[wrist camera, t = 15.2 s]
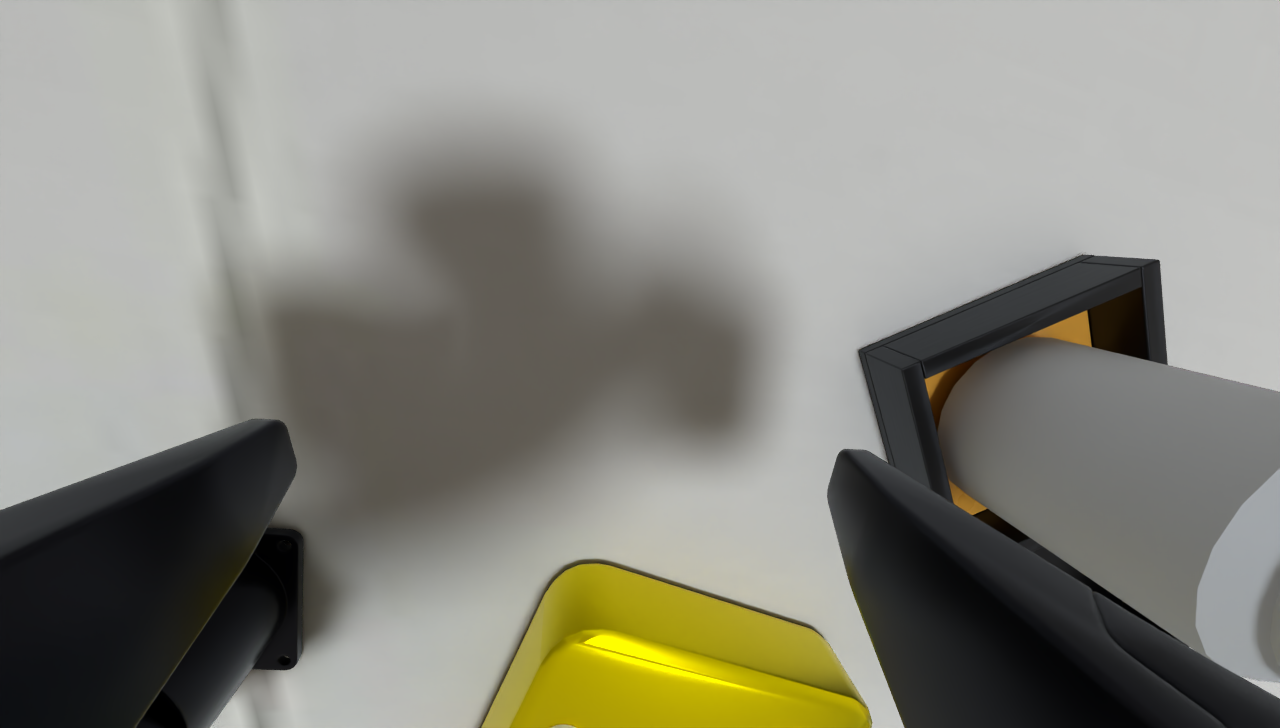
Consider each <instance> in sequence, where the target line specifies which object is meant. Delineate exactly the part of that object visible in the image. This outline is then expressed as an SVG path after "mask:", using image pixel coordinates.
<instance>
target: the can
mask: <svg viewBox="0 0 1280 728" xmlns="http://www.w3.org/2000/svg"><path fill="white" fill-rule="evenodd" d="M937 434H938V438H939V442H940V447H941V451H942V455H943V460H944V464H945V468H946V472H947V476H948V478H949V480H950V481H951V482H952V483H954V484H955V485H956V486H957V487H958V488H960V489H961V490H962V491H963V492H965V493H966V494H967V495H969V496H970V497H971V498H973V499H974V500H976V501H977V502H979V503H980V504H982V505H983V506H985V507H986V508H988V509H989V510H990V511H992V512H993V513H995V514H996V515H998V516H999V517H1001V518H1002V519H1004V520H1005V521H1007V522H1008V523H1009V524H1011V525H1012V526H1014V527H1015V528H1017V529H1018V530H1020V531H1021V532H1023V533H1024V534H1026V535H1027V536H1028V537H1030V538H1031V539H1033V540H1034V541H1036V542H1037V543H1039V544H1040V545H1042V546H1043V547H1044V548H1046V549H1047V550H1049V551H1050V552H1052V553H1053V554H1055V555H1056V556H1058V557H1059V558H1061V559H1062V560H1063V561H1065V562H1066V563H1068V564H1069V565H1071V566H1072V567H1074V568H1075V569H1077V570H1078V571H1080V572H1081V573H1082V574H1084V575H1085V576H1087V577H1088V578H1090V579H1091V580H1093V581H1094V582H1096V583H1097V584H1099V585H1100V586H1101V587H1103V588H1104V589H1106V590H1107V591H1109V592H1110V593H1112V594H1113V595H1115V596H1116V597H1118V598H1119V599H1120V600H1122V601H1123V602H1125V603H1126V604H1128V605H1129V606H1131V607H1132V608H1134V609H1135V610H1136V611H1138V612H1139V613H1141V614H1142V615H1144V616H1145V617H1147V618H1148V619H1150V620H1151V621H1153V622H1154V623H1155V624H1157V625H1158V626H1160V627H1161V628H1163V629H1164V630H1166V631H1167V632H1169V633H1170V634H1172V635H1173V636H1174V637H1176V638H1177V639H1179V640H1180V641H1182V642H1183V643H1185V644H1186V645H1188V646H1189V647H1191V648H1192V649H1193V650H1195V651H1196V652H1198V653H1200V654H1201V655H1203V656H1205V657H1207V658H1208V659H1210V660H1212V661H1214V662H1215V663H1217V664H1219V665H1221V666H1222V667H1224V668H1226V669H1228V670H1229V671H1231V672H1233V673H1235V674H1237V675H1238V676H1241V677H1245V678H1249V679H1253V680H1257V681H1267V682H1278V683H1280V392H1278V391H1274V390H1269V389H1265V388H1261V387H1257V386H1253V385H1248V384H1244V383H1240V382H1236V381H1232V380H1228V379H1223V378H1219V377H1215V376H1211V375H1207V374H1202V373H1198V372H1194V371H1190V370H1186V369H1181V368H1177V367H1173V366H1169V365H1165V364H1160V363H1156V362H1152V361H1148V360H1144V359H1140V358H1135V357H1131V356H1127V355H1123V354H1119V353H1114V352H1110V351H1106V350H1102V349H1098V348H1093V347H1089V346H1085V345H1081V344H1077V343H1072V342H1068V341H1064V340H1060V339H1056V338H1046V337H1026V338H1022V339H1019V340H1016V341H1014V342H1011V343H1009V344H1007V345H1004V346H1002V347H1000V348H997V349H995V350H993V351H991V352H990V353H988V354H986V355H985V356H983V357H982V358H980V359H979V360H977V361H976V362H975V363H974V364H973V365H972V366H971V367H970V368H969V369H968V371H967V372H966V373H965V374H964V375H963V376H962V377H961V378H960V379H959V381H958V382H957V383H956V384H955V385H954V387H953V389H952V390H951V392H950V394H949V396H948V398H947V400H946V402H945V404H944V407H943V409H942V412H941V416H940V421H939V426H938V431H937Z"/></svg>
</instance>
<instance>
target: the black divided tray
mask: <svg viewBox="0 0 1280 728" xmlns="http://www.w3.org/2000/svg"><path fill="white" fill-rule="evenodd" d="M1026 337H1046V338H1056V339H1060V340H1064V341H1068V342H1072V343H1077V344H1081V345H1085V346H1089V347H1093V348H1098V349H1102V350H1106V351H1110V352H1114V353H1119V354H1123V355H1127V356H1131V357H1135V358H1140V359H1144V360H1148V361H1152V362H1156V363H1160V364H1165V365H1168V364H1167V351H1166V338H1165V325H1164V312H1163V298H1162V285H1161V272H1160V261H1159V260H1155V259H1139V258H1123V257H1108V256H1094V255H1082V256H1080V257H1078V258H1075V259H1073V260H1071V261H1068V262H1066V263H1064V264H1061V265H1059V266H1056V267H1054V268H1052V269H1049V270H1047V271H1045V272H1042V273H1040V274H1038V275H1035V276H1033V277H1031V278H1028V279H1026V280H1023V281H1021V282H1019V283H1016V284H1014V285H1012V286H1009V287H1007V288H1005V289H1002V290H1000V291H998V292H995V293H993V294H990V295H988V296H986V297H983V298H981V299H979V300H976V301H974V302H972V303H969V304H967V305H965V306H962V307H960V308H957V309H955V310H953V311H950V312H948V313H946V314H943V315H941V316H939V317H936V318H934V319H932V320H929V321H927V322H924V323H922V324H920V325H917V326H915V327H913V328H910V329H908V330H906V331H903V332H901V333H899V334H896V335H894V336H892V337H889V338H887V339H884V340H882V341H880V342H877V343H875V344H873V345H870V346H868V347H866V348H863V349H861V350H859V353H860V357H861V361H862V364H863V368H864V372H865V375H866V379H867V383H868V386H869V390H870V394H871V397H872V401H873V405H874V408H875V412H876V416H877V419H878V423H879V427H880V430H881V434H882V438H883V441H884V445H885V449H886V452H887V456H888V460H889V463H890V465H892V466H893V467H895V468H897V469H898V470H900V471H901V472H903V473H905V474H906V475H908V476H910V477H911V478H913V479H914V480H916V481H918V482H919V483H921V484H923V485H924V486H926V487H927V488H929V489H931V490H932V491H934V492H936V493H937V494H939V495H940V496H942V497H944V498H945V499H947V500H948V501H950V502H952V503H953V504H955V505H957V506H958V507H960V508H961V509H963V510H965V511H966V512H968V513H970V514H971V515H973V516H974V517H976V518H978V519H979V520H981V521H983V522H984V523H986V524H987V525H989V526H991V527H992V528H994V529H996V530H997V531H999V532H1000V533H1002V534H1004V535H1005V536H1007V537H1009V538H1010V539H1012V540H1013V541H1015V542H1017V543H1018V544H1020V545H1022V546H1023V547H1025V548H1026V549H1028V550H1030V551H1031V552H1033V553H1035V554H1036V555H1038V556H1039V557H1041V558H1043V559H1044V560H1046V561H1048V562H1049V563H1051V564H1052V565H1054V566H1056V567H1057V568H1059V569H1061V570H1062V571H1064V572H1065V573H1067V574H1069V575H1070V576H1072V577H1074V578H1075V579H1077V580H1078V581H1080V582H1082V583H1083V584H1085V585H1087V586H1088V587H1090V589H1091V591H1092V593H1093V592H1098V593H1100V594H1101V595H1103V596H1105V597H1106V598H1108V599H1109V600H1111V601H1113V602H1114V603H1116V604H1118V605H1119V606H1121V607H1122V608H1124V609H1126V610H1127V611H1129V612H1131V613H1132V614H1134V615H1136V616H1137V617H1139V618H1141V619H1142V620H1144V621H1146V622H1147V623H1149V624H1151V625H1152V626H1154V627H1156V628H1157V629H1159V630H1161V631H1162V632H1164V633H1166V634H1167V635H1169V636H1171V637H1172V638H1174V639H1176V640H1177V641H1179V642H1181V643H1182V644H1184V645H1186V644H1185V643H1183V642H1182V641H1180V640H1179V639H1177V638H1176V637H1174V636H1173V635H1172V634H1170V633H1169V632H1167V631H1166V630H1164V629H1163V628H1161V627H1160V626H1158V625H1157V624H1155V623H1154V622H1153V621H1151V620H1150V619H1148V618H1147V617H1145V616H1144V615H1142V614H1141V613H1139V612H1138V611H1136V610H1135V609H1134V608H1132V607H1131V606H1129V605H1128V604H1126V603H1125V602H1123V601H1122V600H1120V599H1119V598H1118V597H1116V596H1115V595H1113V594H1112V593H1110V592H1109V591H1107V590H1106V589H1104V588H1103V587H1101V586H1100V585H1099V584H1097V583H1096V582H1094V581H1093V580H1091V579H1090V578H1088V577H1087V576H1085V575H1084V574H1082V573H1081V572H1080V571H1078V570H1077V569H1075V568H1074V567H1072V566H1071V565H1069V564H1068V563H1066V562H1065V561H1063V560H1062V559H1061V558H1059V557H1058V556H1056V555H1055V554H1053V553H1052V552H1050V551H1049V550H1047V549H1046V548H1044V547H1043V546H1042V545H1040V544H1039V543H1037V542H1036V541H1034V540H1033V539H1031V538H1030V537H1028V536H1027V535H1026V534H1024V533H1023V532H1021V531H1020V530H1018V529H1017V528H1015V527H1014V526H1012V525H1011V524H1009V523H1008V522H1007V521H1005V520H1004V519H1002V518H1001V517H999V516H998V515H996V514H995V513H993V512H992V511H990V510H989V509H988V508H986V507H985V506H983V505H982V504H980V503H979V502H977V501H976V500H974V499H973V498H971V497H970V496H969V495H967V494H966V493H965V492H963V491H962V490H961V489H960V488H958V487H957V486H956V485H955V484H954V483H952V482H951V481H950V480H949V478H948V476H947V472H946V468H945V464H944V460H943V455H942V451H941V447H940V442H939V438H938V434H937V431H938V426H939V421H940V416H941V412H942V409H943V407H944V404H945V402H946V400H947V398H948V396H949V394H950V392H951V390H952V389H953V387H954V385H955V384H956V383H957V382H958V381H959V379H960V378H961V377H962V376H963V375H964V374H965V373H966V372H967V371H968V369H969V368H970V367H971V366H972V365H973V364H974V363H975V362H976V361H977V360H979V359H980V358H982V357H983V356H985V355H986V354H988V353H990V352H991V351H993V350H995V349H997V348H1000V347H1002V346H1004V345H1007V344H1009V343H1011V342H1014V341H1016V340H1019V339H1022V338H1026ZM1186 646H1187V647H1189V646H1188V645H1186Z"/></svg>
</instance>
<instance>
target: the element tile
mask: <svg viewBox="0 0 1280 728" xmlns="http://www.w3.org/2000/svg"><path fill="white" fill-rule="evenodd" d="M871 727H872V720H871V716H870V713H869V710H868V707H867V705H866V704H865V702H864V701H863V699H862V697H861V696H860V694H859V692H858V691H857V689H856V687H855V686H854V684H853V683H852V681H851V679H850V678H849V676H848V674H847V673H846V671H845V670H844V668H843V666H842V665H841V663H840V661H839V660H838V658H837V657H836V655H835V653H834V652H833V650H832V648H831V647H830V645H829V643H828V642H827V641H826V640H825V639H823V638H822V637H821V636H820V635H819V634H818V633H817V632H815V631H813V630H812V629H810V628H807V627H804V626H801V625H797V624H794V623H791V622H788V621H785V620H782V619H778V618H775V617H772V616H769V615H766V614H763V613H759V612H756V611H753V610H750V609H747V608H744V607H740V606H737V605H734V604H731V603H728V602H725V601H721V600H718V599H715V598H712V597H709V596H705V595H702V594H699V593H696V592H693V591H690V590H686V589H683V588H680V587H677V586H674V585H671V584H667V583H664V582H661V581H658V580H655V579H652V578H648V577H645V576H642V575H639V574H636V573H633V572H629V571H626V570H623V569H620V568H617V567H614V566H610V565H605V564H598V563H593V564H580V565H577V566H575V567H572V568H570V569H567V570H565V571H564V572H563V573H562V574H561V575H560V576H559V577H558V578H556V579H555V580H554V581H553V583H552V584H551V586H550V587H549V589H548V590H547V592H546V593H545V595H544V597H543V599H542V601H541V603H540V605H539V608H538V610H537V612H536V614H535V616H534V618H533V620H532V622H531V624H530V626H529V629H528V631H527V633H526V635H525V637H524V639H523V641H522V643H521V645H520V647H519V650H518V652H517V654H516V656H515V658H514V660H513V662H512V664H511V666H510V668H509V671H508V673H507V675H506V677H505V679H504V681H503V683H502V685H501V687H500V689H499V692H498V694H497V696H496V698H495V700H494V702H493V704H492V706H491V708H490V710H489V713H488V715H487V717H486V719H485V721H484V723H483V725H482V727H481V728H871Z"/></svg>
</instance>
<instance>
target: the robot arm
mask: <svg viewBox="0 0 1280 728" xmlns="http://www.w3.org/2000/svg"><path fill="white" fill-rule="evenodd" d="M296 469H297V462H296V457H295V454H294V450H293V447H292V443H291V440H290V436H289V433H288V429H287V427H286V425H285V424H284V423H283V422H282V421H280V420H271V419H251V420H248V421H245V422H242V423H240V424H237V425H234V426H231V427H229V428H226V429H223V430H220V431H217V432H215V433H212V434H209V435H206V436H204V437H201V438H198V439H195V440H193V441H190V442H187V443H184V444H182V445H179V446H176V447H173V448H171V449H168V450H165V451H162V452H160V453H157V454H154V455H151V456H149V457H146V458H143V459H140V460H138V461H135V462H132V463H129V464H127V465H124V466H121V467H118V468H116V469H113V470H110V471H107V472H105V473H102V474H99V475H96V476H93V477H91V478H88V479H85V480H82V481H80V482H77V483H74V484H71V485H69V486H66V487H63V488H60V489H58V490H55V491H52V492H49V493H47V494H44V495H41V496H38V497H36V498H33V499H30V500H27V501H25V502H22V503H19V504H16V505H14V506H11V507H8V508H5V509H3V510H0V728H210V727H211V725H212V724H213V722H214V721H215V720H216V718H217V717H218V715H219V714H220V713H221V711H222V710H223V708H224V707H225V706H226V704H227V703H228V701H229V700H230V699H231V697H232V696H233V694H234V693H235V692H236V690H237V689H238V688H239V686H240V685H241V683H242V682H243V681H244V679H245V678H246V676H247V675H248V674H249V672H250V671H251V669H262V670H289V669H291V668H293V667H294V666H295V665H296V664H297V662H298V660H299V659H300V657H301V654H302V603H303V537H302V536H301V534H300V533H298V532H297V531H295V530H291V529H279V528H267V527H268V525H269V523H270V521H271V519H272V518H273V516H274V514H275V512H276V510H277V508H278V507H279V505H280V503H281V501H282V499H283V497H284V496H285V494H286V492H287V490H288V488H289V486H290V485H291V483H292V481H293V479H294V477H295V474H296ZM827 498H828V504H829V508H830V511H831V515H832V519H833V523H834V527H835V530H836V534H837V538H838V542H839V546H840V549H841V553H842V557H843V561H844V565H845V569H846V572H847V576H848V579H849V582H850V586H851V589H852V591H853V594H854V597H855V600H856V602H857V605H858V608H859V610H860V613H861V616H862V618H863V621H864V623H865V626H866V629H867V631H868V634H869V636H870V639H871V642H872V644H873V647H874V649H875V652H876V655H877V657H878V660H879V662H880V665H881V668H882V670H883V673H884V675H885V678H886V681H887V683H888V686H889V688H890V691H891V694H892V696H893V699H894V701H895V704H896V707H897V709H898V712H899V714H900V717H901V720H902V722H903V725H904V727H905V728H1280V699H1279V698H1277V697H1276V696H1274V695H1272V694H1270V693H1268V692H1267V691H1265V690H1263V689H1261V688H1260V687H1258V686H1256V685H1254V684H1252V683H1251V682H1249V681H1247V680H1245V679H1244V678H1242V677H1240V676H1238V675H1237V674H1235V673H1233V672H1231V671H1229V670H1228V669H1226V668H1224V667H1222V666H1221V665H1219V664H1217V663H1215V662H1214V661H1212V660H1210V659H1208V658H1207V657H1205V656H1203V655H1201V654H1200V653H1198V652H1196V651H1194V650H1193V649H1191V648H1189V647H1187V646H1186V645H1184V644H1182V643H1181V642H1179V641H1177V640H1176V639H1174V638H1172V637H1171V636H1169V635H1167V634H1166V633H1164V632H1162V631H1161V630H1159V629H1157V628H1156V627H1154V626H1152V625H1151V624H1149V623H1147V622H1146V621H1144V620H1142V619H1141V618H1139V617H1137V616H1136V615H1134V614H1132V613H1131V612H1129V611H1127V610H1126V609H1124V608H1122V607H1121V606H1119V605H1118V604H1116V603H1114V602H1113V601H1111V600H1109V599H1108V598H1106V597H1105V596H1103V595H1101V594H1100V593H1098V592H1093V593H1092V591H1091V589H1090V587H1088V586H1087V585H1085V584H1083V583H1082V582H1080V581H1078V580H1077V579H1075V578H1074V577H1072V576H1070V575H1069V574H1067V573H1065V572H1064V571H1062V570H1061V569H1059V568H1057V567H1056V566H1054V565H1052V564H1051V563H1049V562H1048V561H1046V560H1044V559H1043V558H1041V557H1039V556H1038V555H1036V554H1035V553H1033V552H1031V551H1030V550H1028V549H1026V548H1025V547H1023V546H1022V545H1020V544H1018V543H1017V542H1015V541H1013V540H1012V539H1010V538H1009V537H1007V536H1005V535H1004V534H1002V533H1000V532H999V531H997V530H996V529H994V528H992V527H991V526H989V525H987V524H986V523H984V522H983V521H981V520H979V519H978V518H976V517H974V516H973V515H971V514H970V513H968V512H966V511H965V510H963V509H961V508H960V507H958V506H957V505H955V504H953V503H952V502H950V501H948V500H947V499H945V498H944V497H942V496H940V495H939V494H937V493H936V492H934V491H932V490H931V489H929V488H927V487H926V486H924V485H923V484H921V483H919V482H918V481H916V480H914V479H913V478H911V477H910V476H908V475H906V474H905V473H903V472H901V471H900V470H898V469H897V468H895V467H893V466H892V465H890V464H888V463H887V462H885V461H884V460H882V459H880V458H879V457H877V456H875V455H874V454H872V453H871V452H869V451H866V450H856V449H843V450H842V451H840V452H839V454H838V456H837V459H836V462H835V466H834V469H833V472H832V476H831V479H830V483H829V486H828V492H827ZM284 540H285V541H288V542H289V543H291V546H289V545H286V544H285V543H284V542H283V541H284ZM284 655H285V656H288V657H289V658H288V657H285V656H284Z"/></svg>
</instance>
